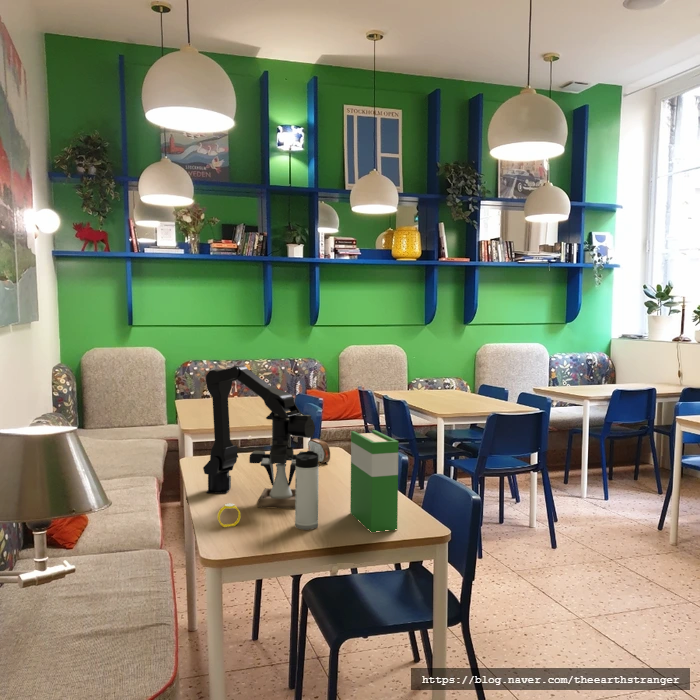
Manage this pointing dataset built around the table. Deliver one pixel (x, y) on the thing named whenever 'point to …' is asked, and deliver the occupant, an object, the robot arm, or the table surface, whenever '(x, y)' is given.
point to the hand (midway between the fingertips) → (281, 485)
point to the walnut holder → (276, 500)
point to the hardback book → (374, 480)
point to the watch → (229, 508)
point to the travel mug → (306, 490)
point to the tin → (320, 449)
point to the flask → (281, 484)
